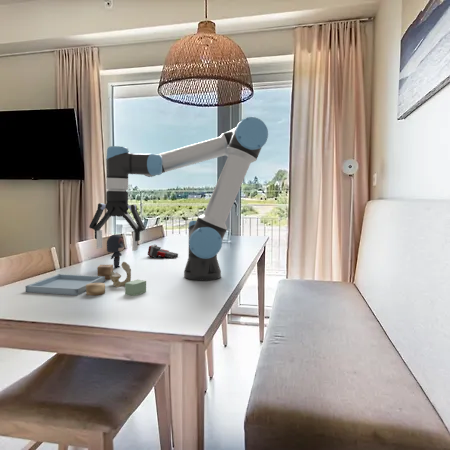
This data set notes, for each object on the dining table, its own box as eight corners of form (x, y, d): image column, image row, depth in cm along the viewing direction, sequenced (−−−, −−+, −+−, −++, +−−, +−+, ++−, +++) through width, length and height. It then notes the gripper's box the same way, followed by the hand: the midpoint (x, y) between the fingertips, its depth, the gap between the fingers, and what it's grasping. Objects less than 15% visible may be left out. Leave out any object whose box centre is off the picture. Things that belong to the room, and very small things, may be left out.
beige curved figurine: (100, 283, 132) (109, 257, 136) (108, 288, 137) (117, 263, 141) (121, 286, 129) (130, 260, 134) (129, 292, 135) (137, 266, 139)
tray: (104, 281, 140) (104, 276, 140) (77, 295, 122) (77, 289, 122) (59, 279, 143) (58, 273, 143) (25, 291, 125) (25, 286, 124)
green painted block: (146, 292, 127) (146, 280, 127) (134, 296, 122) (134, 284, 122) (137, 290, 129) (137, 279, 129) (125, 294, 124) (125, 282, 124)
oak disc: (108, 291, 127) (107, 282, 127) (100, 295, 121) (100, 286, 121) (91, 290, 128) (91, 282, 128) (83, 295, 122) (82, 286, 122)
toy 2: (177, 260, 199) (150, 254, 200) (179, 249, 198) (153, 243, 200) (173, 264, 190) (145, 257, 192) (175, 252, 190) (148, 245, 191)
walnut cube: (113, 276, 149) (113, 264, 149) (110, 279, 144) (110, 267, 144) (100, 276, 148) (100, 264, 148) (97, 279, 143) (97, 267, 143)
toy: (118, 270, 161) (118, 236, 160) (102, 268, 163) (102, 235, 162) (128, 266, 170) (128, 233, 169) (112, 265, 172) (112, 233, 171)
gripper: (154, 191, 134) (153, 249, 135) (90, 189, 137) (90, 245, 139) (146, 191, 126) (146, 252, 128) (79, 189, 130) (79, 248, 132)
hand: (117, 249), depth 134 cm, fingers open, 13 cm apart
